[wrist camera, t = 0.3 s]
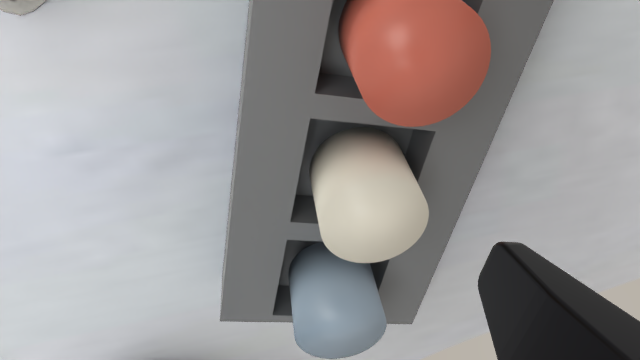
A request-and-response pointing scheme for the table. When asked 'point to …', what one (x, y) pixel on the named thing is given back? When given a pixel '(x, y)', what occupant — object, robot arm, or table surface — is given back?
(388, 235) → the cream button
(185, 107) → the table surface
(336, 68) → the console
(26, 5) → the emergency button
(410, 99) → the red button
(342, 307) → the blue button
